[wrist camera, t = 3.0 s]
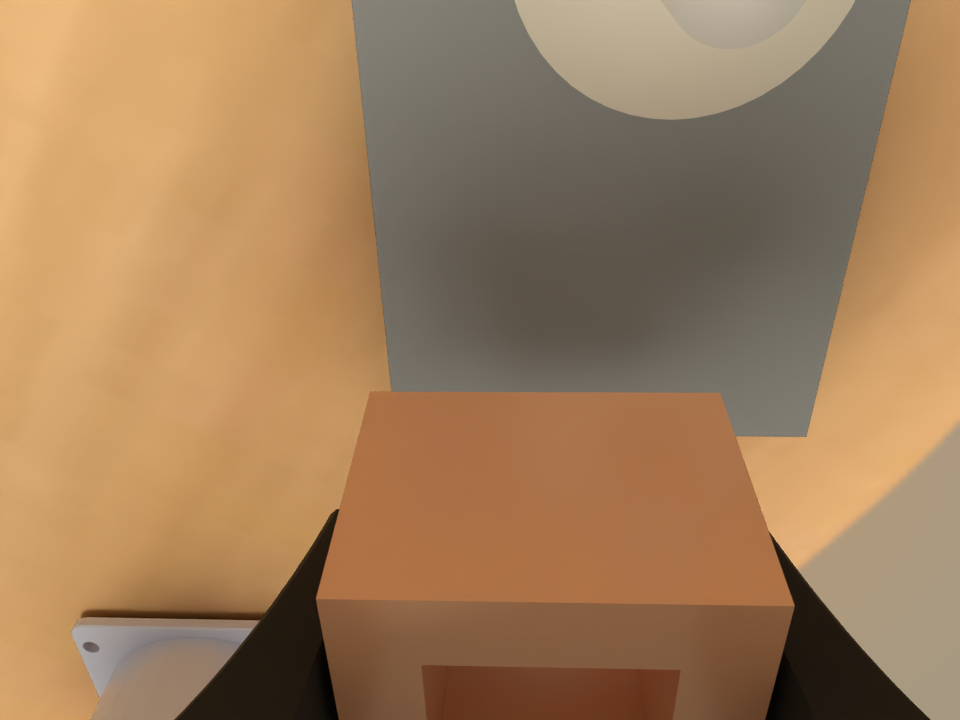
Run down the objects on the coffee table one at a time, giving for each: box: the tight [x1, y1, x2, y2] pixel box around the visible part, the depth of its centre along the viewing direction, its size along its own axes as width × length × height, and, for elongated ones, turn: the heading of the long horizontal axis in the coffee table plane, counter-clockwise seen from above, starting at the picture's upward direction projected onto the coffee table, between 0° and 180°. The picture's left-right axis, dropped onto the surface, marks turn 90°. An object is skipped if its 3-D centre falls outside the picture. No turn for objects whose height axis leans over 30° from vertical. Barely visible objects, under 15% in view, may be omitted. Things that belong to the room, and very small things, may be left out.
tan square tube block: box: [316, 392, 795, 720], centre depth 12 cm, size 5×5×4 cm
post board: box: [352, 0, 911, 437], centre depth 15 cm, size 14×10×5 cm
